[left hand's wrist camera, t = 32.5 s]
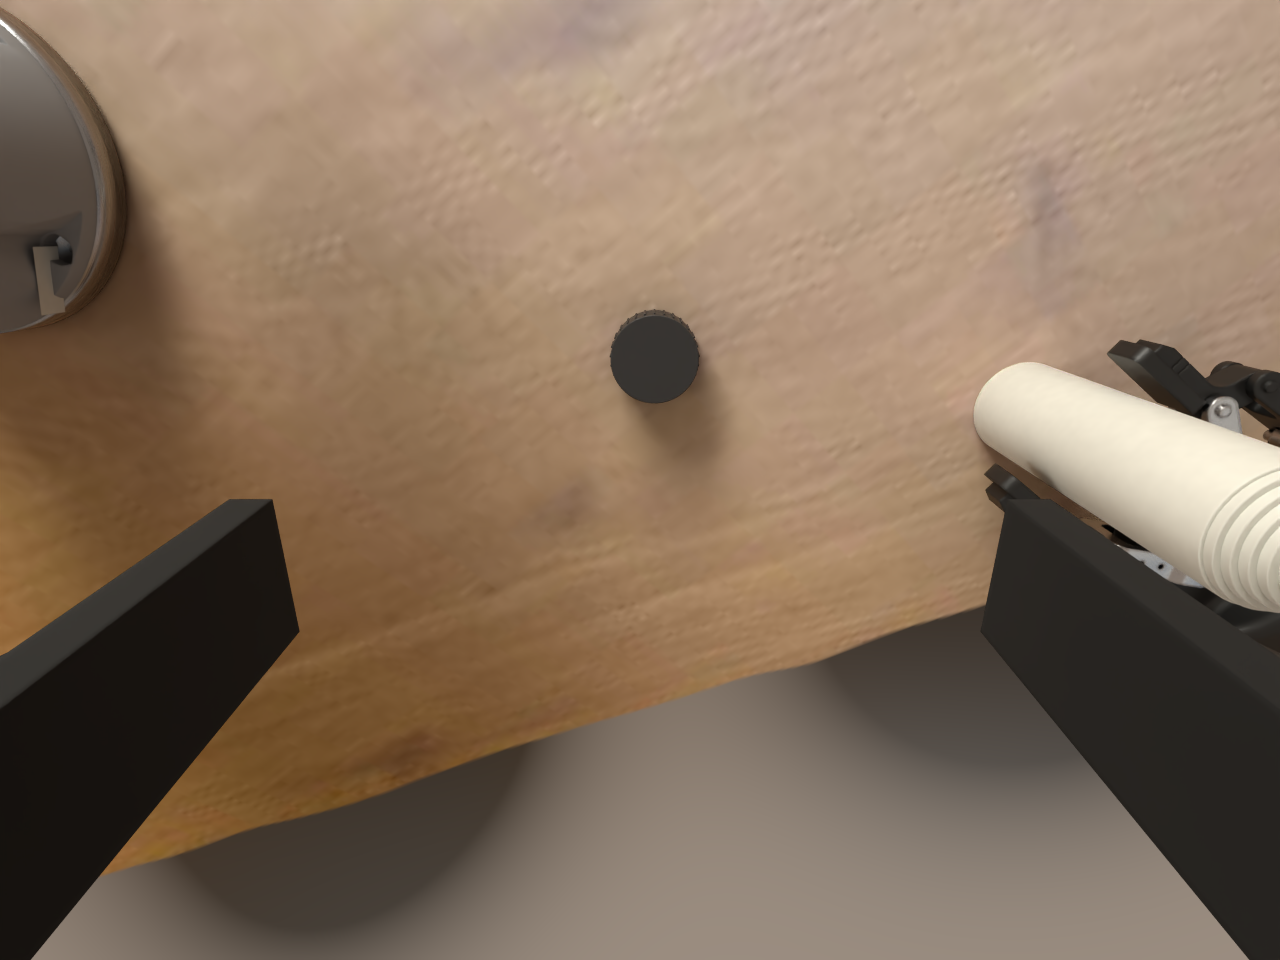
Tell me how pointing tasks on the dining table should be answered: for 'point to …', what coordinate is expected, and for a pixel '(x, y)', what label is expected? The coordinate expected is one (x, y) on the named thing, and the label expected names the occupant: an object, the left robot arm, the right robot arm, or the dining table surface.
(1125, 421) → the bottle
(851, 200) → the dining table surface
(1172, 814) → the left robot arm
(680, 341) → the cap
